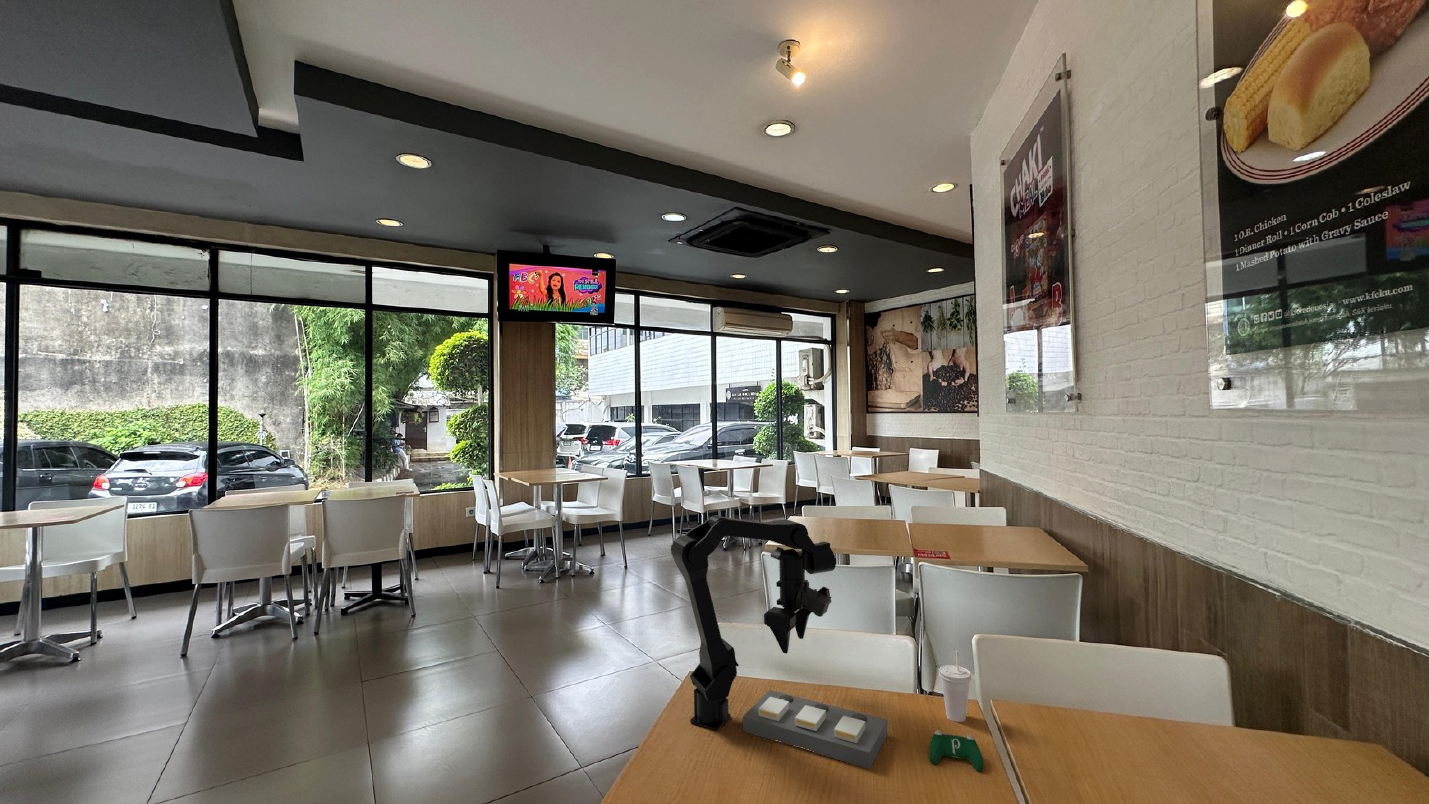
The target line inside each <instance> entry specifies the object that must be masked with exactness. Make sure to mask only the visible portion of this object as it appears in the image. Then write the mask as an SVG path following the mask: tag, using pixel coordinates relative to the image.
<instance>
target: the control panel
mask: <svg viewBox="0 0 1429 804" xmlns="http://www.w3.org/2000/svg"><path fill="white" fill-rule="evenodd" d="M769 697H773V698H777V699H781V700H785V701H789V710H788V711H787V712H786V713H785V714H784V716H783V717H782V718H781V719H780V720H779V721H775V720H772V719H768V718H764V717H761V716H759V707H760V706H761V705H762V704H763V703H764V702H765V701H766V700H767V699H768V698H769ZM805 705H807V706H811V707H815V708H819V709H822V710H826V719H825V720H824V721H823V723H822V724H821V725H820V727H819V728H818V730H817V731H813V730H810V729H806V728H803V727H799V726H796V725H795V717H796V716H797V715H798V713H799V712H800V711H801V710H802V709H803V707H804V706H805ZM843 716H847V717H851V718H854V719H858V720H862V721H865V731H864V732H863V734H862V736H861V737H860V739H859V741H858V743H854V742H850V741H847V740H843V739H839V738H836V737H834V728H835V727H836V726H837V724H838V723H839V721H840V720H841V718H842V717H843ZM742 732H744V733H747V734H751V735H755V736H756V737H760V736H761V738H764V737H765V738H764V739H767V738H768V739H767V740H770V739H771V740H770V741H774V740H778V741H781V742H783V743H782V744H784V743H786V744H785V745H787V744H790V745H795V746H799V747H803V748H805V749H809V750H811V751H814V752H816V753H815V754H817V753H818V754H817V755H820V754H823V755H822V756H824V755H825V756H824V757H828V758H830V757H831V758H830V759H834V760H836V761H841V762H845V763H847V764H851V765H854V766H856V767H857V766H858V767H861V768H864V769H868V770H870V769H871V768H872V766H873V764H874V762H875V760H876V757H877V756H878V754H879V752H880V751H881V748H882V746H883V745H884V743H885V740H886V738H887V736H888V719H887V718H884V717H883V718H882V717H879V716H874V715H870V714H867V713H863V712H860V711H855V710H851V709H848V708H847V709H846V708H843V707H840V706H835V705H832V704H828V703H824V702H819V701H815V700H811V699H808V698H804V697H799V696H796V695H792V694H788V693H783V692H782V691H781V692H780V691H776V690H772V689H769V690H768V691H766V693H765V694H763V696H761V698H760V699H758V701H757V702H755V703H754V704H753V706H751V708H749V710H748V711H746V712H745V713H744V714H743V715H742ZM790 745H789V746H790ZM814 752H813V753H814Z"/></svg>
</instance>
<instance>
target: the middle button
mask: <svg viewBox="0 0 1429 804" xmlns="http://www.w3.org/2000/svg"><path fill="white" fill-rule="evenodd" d="M825 719H826V710H822V709H819V708H815V707H811V706H807V705H805V706H804V707H803V709H802V710H801V711H800V712H799V713H798V715H797V716H796V717H795V725H796V726H799V727H803V728H806V729H810V730H813V731H817V730H818V728H819V727H820V725H821V724H822V723H823V721H824V720H825Z"/></svg>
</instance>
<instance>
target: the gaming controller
mask: <svg viewBox="0 0 1429 804" xmlns="http://www.w3.org/2000/svg"><path fill="white" fill-rule="evenodd" d="M928 749H929V750H928V754H929V756H928V757H929V762H930V764H932V765H938V764H939V762H940V760H941V758H942V756H944V757H946V758H951V757H953V758H958V759H961V760H963V761H965V760H968V761H969V762H970V764H971V765H972V767H973V769H974V770H975V771H976V772H981V773H982V772H984V768H985V766H984V765H985V764H984V763H985V762H984V758H983V754H982V752H981V749H980V747H979V745H978V743H977V741H976V739H975V737H974V736H973V735H971V734H967V735H966V737H965V736H962V735H961V736H960V735H954V734H946V733H945V734H944V733H942V730H940V729H938V730H935V731H934V733H933V734H932V737H931V740H930V743H929V748H928Z"/></svg>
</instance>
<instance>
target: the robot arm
mask: <svg viewBox="0 0 1429 804" xmlns="http://www.w3.org/2000/svg"><path fill="white" fill-rule="evenodd" d="M725 537H734V538H741V539H751V540H760V541H769V542H773V543H775V544H779V545H781V546H784V547H788V548H786V549H784V548H782V547H781V546H777V547H776V549H775V550H774V551H772V552H771V553H770V557H771V558H773V559H775V560H778V561H779V562H778V564H779V567H778V568H779V570H778V571H779V580H777V581H776V583H775V585H776V587H777V588H779V598H778V599H776V606H773V607H771V608H770V609H769V610H767V611H766V612H765V613H764V614H763V624H764V625H765V626H767V627H768V628H769V629H770V631H771V632H772V634H773V636H774V638H775V639H776V642H777V644H778V646H779V648H780V651H781V652H782V653H783V654H788V653H789V649H790V648H789V647H790V640H791V639H790V638H791V631H792V630H793V629H794V628H795V631H796V634H797V638H798V639H801V640H803V639H804V638H805V633H806V629H807V625H808V621H809V618H810V615H811V614H812V613H813V614H814V615H815V616H817V617H820V618H822V617H823V616H824V615H825V614H826V613H827V612H828V609H829V606H830V605H831V603H832V596H831V594H830V593H831V592H830V589H829V588H828V587H827V586H822V587H821V588H820V589H817V588H815V589H814V588H811V587H810V582H809V580H808V579H806V573H807V574H809V575H815V574H821V573H827V572H832V571H834V570H835V568H836V565H837V558H836V557H835V553H834V551H833V549H832V548H831V543H830V542H827V541H826V540H825V541H820V542H818V543H814V541H813V540H812V539H811V537H810V535H809V531H808V529H807V526H806V525H804V523H803V524H802V523H799V522H797V521H794V520H790V519H786V518H785V519H775V520H771V521H759V520H749V519H743V518H733V517H726V516H722V515H719V514H716V515H715V514H714V515H711V516H710V517H709V518H708V519H707V520H706V521H704V522H703V523H701V524H699V525H696V527H693V528H692V529H690V530H688V532H686V533H685V534H683V535H679V536H678V537H676V538H675V539H674V541H673V542H672V544H671V545H670V554H671V556H672V558H673V560H674V563H675V565H676V567H677V568H678V571H679V572H680V573H681V576H682V577H683V579H684V581H685V584H686V588H687V593H688V595H689V600H690V603H691V608H692V613H693V616H694V620H695V623H696V628H697V631H698V637H699V638H700V639H699V640H700V647H699V652H698V654H699V656H698V657H699V663H698V664H697V666H696V668H695V669H693V671H692V672H691V674H690V675H689V678H690V680H691V683H692V686H694V687H695V688H694V690H693V715H694V716H693V717H692V718H690V719H689V722H690V723H691V724H693V725H696V726H700V727H702V728H706V729H710V730H712V731H717V730H719V728H721V727H722V726H723V725H724V723H726V722H727V721H728V720H729V719H730V718H731V713H730V712H729V698H728V697H729V695H730V691H731V688H732V686H733V685H732V684H733V682H734V680H735V678H736V677H738V672H737V671H738V670H737V667H739V666H740V664H739V663H738V662H737V660H736V651H735V647H733V646H732V645H731V644H730V643H728V642H727V641H726V640H725V639H724V638H722V634H721V631H720V626H719V622H718V619H717V615H716V614H717V613H716V611H715V607H714V602H713V600H712V595H711V591H710V586H709V583H708V582H709V581H708V579H707V575H708V570H709V556H710V555H711V554H712V553H713V552H715V551H716V549H717V547H718V546H719V545H720V543H721V542H722V540H723V539H725ZM798 550H799V551H798ZM805 572H806V573H805ZM778 606H780V607H778Z"/></svg>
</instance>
